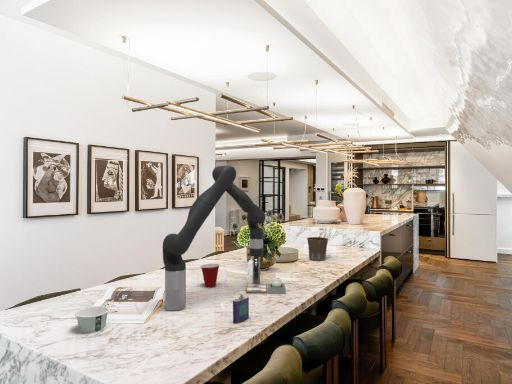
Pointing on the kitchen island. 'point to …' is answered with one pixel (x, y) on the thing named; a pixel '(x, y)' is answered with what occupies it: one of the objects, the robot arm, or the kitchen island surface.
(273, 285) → the button
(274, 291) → the button housing
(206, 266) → the plastic cup
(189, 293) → the kitchen island surface
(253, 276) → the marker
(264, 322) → the kitchen island surface
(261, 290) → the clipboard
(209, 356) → the kitchen island surface
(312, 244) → the plant pot
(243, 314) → the flask
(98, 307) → the food container
